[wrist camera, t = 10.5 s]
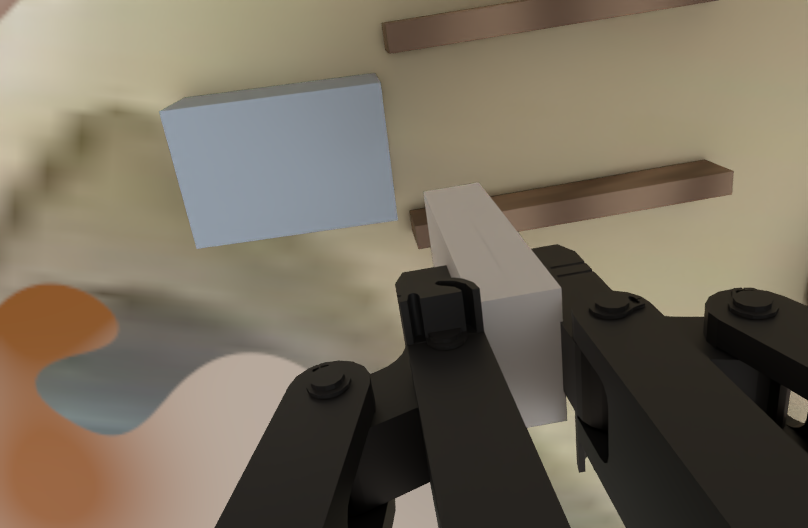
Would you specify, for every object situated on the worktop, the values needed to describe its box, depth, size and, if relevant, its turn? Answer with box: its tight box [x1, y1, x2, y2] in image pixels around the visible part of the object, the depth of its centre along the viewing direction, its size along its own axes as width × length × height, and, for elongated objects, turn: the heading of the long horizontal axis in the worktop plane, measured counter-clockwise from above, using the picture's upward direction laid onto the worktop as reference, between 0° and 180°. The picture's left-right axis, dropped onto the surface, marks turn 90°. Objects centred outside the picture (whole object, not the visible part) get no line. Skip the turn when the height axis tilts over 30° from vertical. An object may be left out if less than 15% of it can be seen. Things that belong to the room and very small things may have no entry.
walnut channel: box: [382, 0, 734, 249], centre depth 29 cm, size 16×10×2 cm, turn 98°
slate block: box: [159, 73, 398, 249], centre depth 27 cm, size 9×6×4 cm, turn 97°
